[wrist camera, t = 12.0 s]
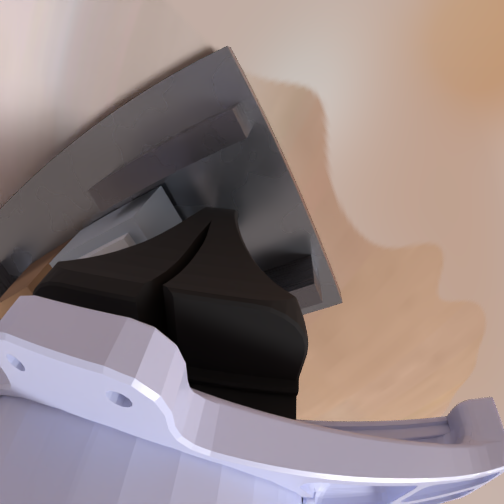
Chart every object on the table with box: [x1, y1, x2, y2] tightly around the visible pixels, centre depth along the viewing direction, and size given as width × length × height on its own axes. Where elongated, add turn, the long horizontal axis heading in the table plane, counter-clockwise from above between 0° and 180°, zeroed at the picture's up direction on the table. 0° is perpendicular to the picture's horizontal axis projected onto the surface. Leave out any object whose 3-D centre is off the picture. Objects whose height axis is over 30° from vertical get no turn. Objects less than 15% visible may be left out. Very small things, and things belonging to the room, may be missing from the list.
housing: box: [0, 238, 72, 319], centre depth 14 cm, size 4×6×4 cm
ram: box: [49, 186, 182, 268], centre depth 13 cm, size 5×5×3 cm
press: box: [0, 46, 342, 320], centre depth 14 cm, size 12×20×4 cm, turn 115°
